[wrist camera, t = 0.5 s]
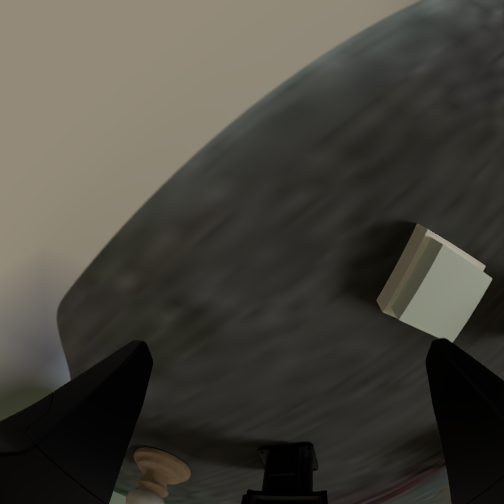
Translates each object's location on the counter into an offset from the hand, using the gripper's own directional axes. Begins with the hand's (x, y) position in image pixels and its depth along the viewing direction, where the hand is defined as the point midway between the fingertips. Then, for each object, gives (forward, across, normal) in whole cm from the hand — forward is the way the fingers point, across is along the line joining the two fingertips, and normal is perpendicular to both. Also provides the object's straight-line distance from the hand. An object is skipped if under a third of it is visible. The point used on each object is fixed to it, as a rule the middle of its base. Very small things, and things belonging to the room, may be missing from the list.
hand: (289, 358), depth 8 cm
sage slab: (+12, -12, +5) cm, 17 cm away
